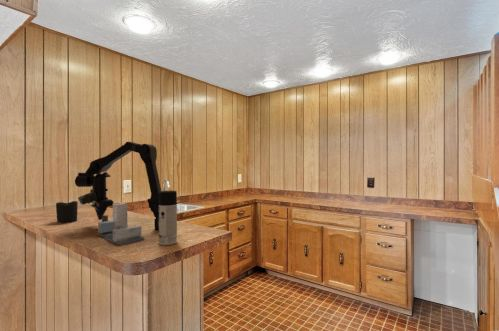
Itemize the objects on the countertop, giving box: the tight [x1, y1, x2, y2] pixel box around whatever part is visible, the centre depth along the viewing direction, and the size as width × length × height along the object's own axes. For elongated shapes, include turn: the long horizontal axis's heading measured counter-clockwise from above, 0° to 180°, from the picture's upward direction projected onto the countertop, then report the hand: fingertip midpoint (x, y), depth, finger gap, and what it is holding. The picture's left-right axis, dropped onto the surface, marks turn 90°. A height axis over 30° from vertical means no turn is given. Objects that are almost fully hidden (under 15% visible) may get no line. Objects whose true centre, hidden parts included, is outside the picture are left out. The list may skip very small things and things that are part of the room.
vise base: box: [97, 224, 145, 247], centre depth 110 cm, size 22×10×5 cm, turn 47°
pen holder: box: [55, 200, 79, 224], centre depth 140 cm, size 9×9×10 cm
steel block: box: [112, 201, 129, 230], centre depth 110 cm, size 4×5×13 cm
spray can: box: [158, 190, 178, 247], centre depth 102 cm, size 7×7×20 cm
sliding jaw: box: [97, 214, 113, 233], centre depth 119 cm, size 11×10×5 cm
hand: (99, 219), depth 126 cm, fingers closed
